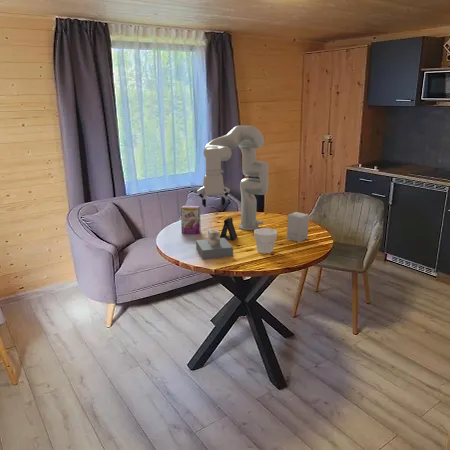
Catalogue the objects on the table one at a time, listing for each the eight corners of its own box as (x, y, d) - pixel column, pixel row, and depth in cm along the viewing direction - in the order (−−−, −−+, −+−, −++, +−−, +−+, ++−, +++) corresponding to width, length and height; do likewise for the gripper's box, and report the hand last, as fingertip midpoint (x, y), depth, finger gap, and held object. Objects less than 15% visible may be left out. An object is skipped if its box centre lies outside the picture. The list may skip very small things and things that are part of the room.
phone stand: (237, 237, 241) (237, 218, 237) (233, 240, 236) (233, 220, 232) (223, 235, 244) (223, 216, 241) (219, 238, 239) (219, 218, 236)
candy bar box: (181, 233, 248) (180, 207, 243) (183, 231, 253) (182, 205, 248) (199, 234, 247) (199, 207, 242) (200, 231, 252) (200, 205, 247)
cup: (270, 256, 211) (271, 236, 208) (249, 252, 218) (249, 232, 214) (280, 249, 221) (281, 230, 218) (260, 245, 228) (260, 226, 224)
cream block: (217, 241, 219) (217, 229, 216) (219, 244, 214) (219, 232, 212) (208, 242, 217) (208, 230, 215) (210, 245, 213) (210, 233, 211)
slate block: (224, 246, 226) (224, 237, 225) (232, 256, 212) (232, 247, 210) (196, 249, 222) (196, 240, 221) (202, 259, 208) (202, 250, 206)
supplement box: (308, 239, 238) (309, 214, 234) (299, 242, 232) (300, 217, 227) (294, 235, 244) (296, 211, 240) (286, 239, 238) (287, 214, 233)
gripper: (227, 170, 210) (227, 202, 215) (194, 172, 206) (195, 205, 211) (232, 173, 203) (232, 206, 208) (198, 174, 199) (198, 208, 204)
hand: (213, 205), depth 210 cm, fingers open, 9 cm apart
